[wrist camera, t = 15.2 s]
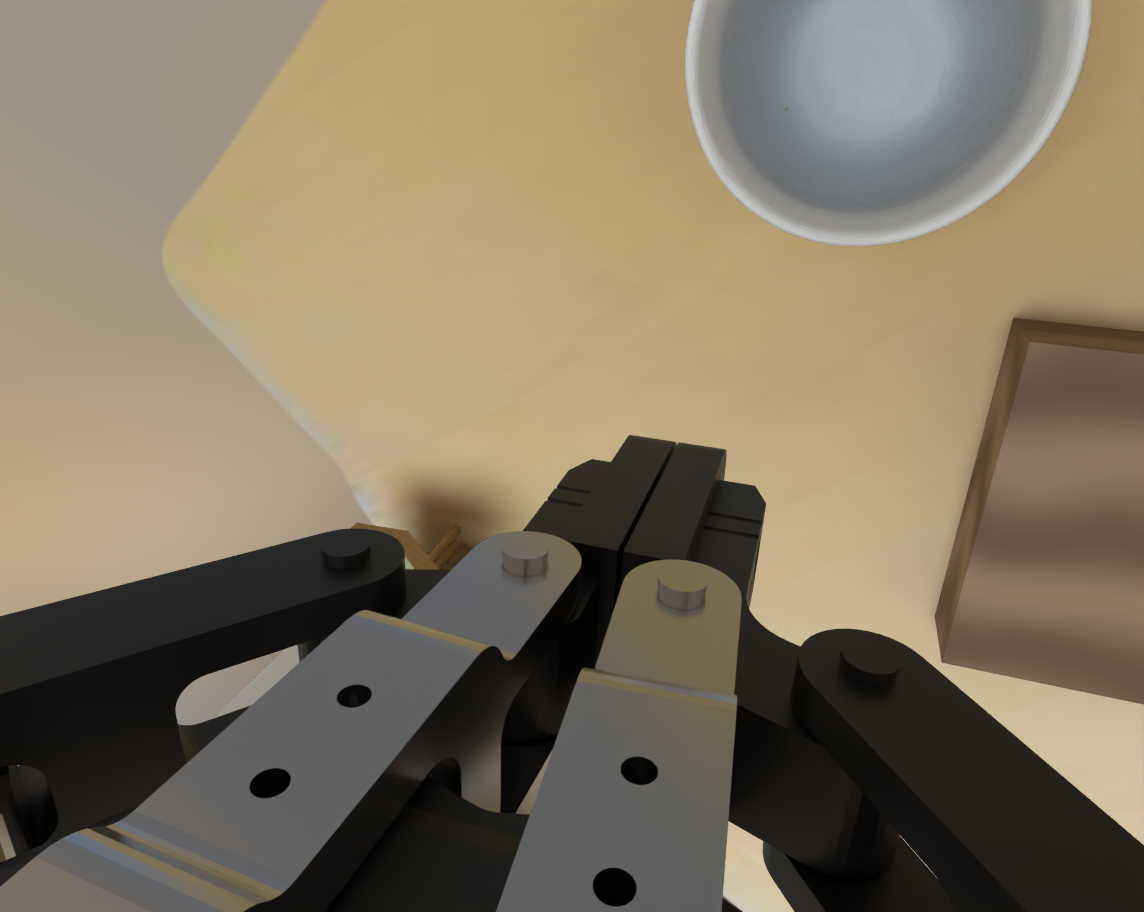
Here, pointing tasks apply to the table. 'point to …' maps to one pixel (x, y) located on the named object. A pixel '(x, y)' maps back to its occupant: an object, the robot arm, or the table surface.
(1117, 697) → the brown wooden block
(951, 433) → the table surface
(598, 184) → the table surface
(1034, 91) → the mug
